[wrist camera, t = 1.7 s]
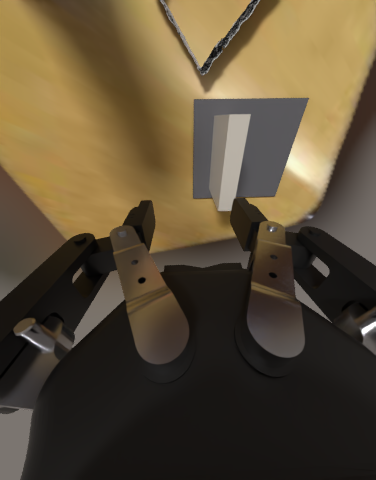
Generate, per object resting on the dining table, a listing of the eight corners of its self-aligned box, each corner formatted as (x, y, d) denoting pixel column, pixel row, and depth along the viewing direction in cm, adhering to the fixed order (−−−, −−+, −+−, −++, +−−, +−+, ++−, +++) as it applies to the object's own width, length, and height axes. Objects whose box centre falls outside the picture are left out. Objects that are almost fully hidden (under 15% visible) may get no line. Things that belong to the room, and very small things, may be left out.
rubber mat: (193, 197, 34) (193, 198, 34) (194, 99, 24) (194, 99, 24) (274, 195, 35) (274, 196, 34) (307, 98, 25) (308, 98, 24)
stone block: (209, 188, 33) (218, 211, 25) (214, 115, 25) (229, 114, 17) (221, 188, 33) (233, 210, 25) (229, 115, 25) (252, 114, 17)
